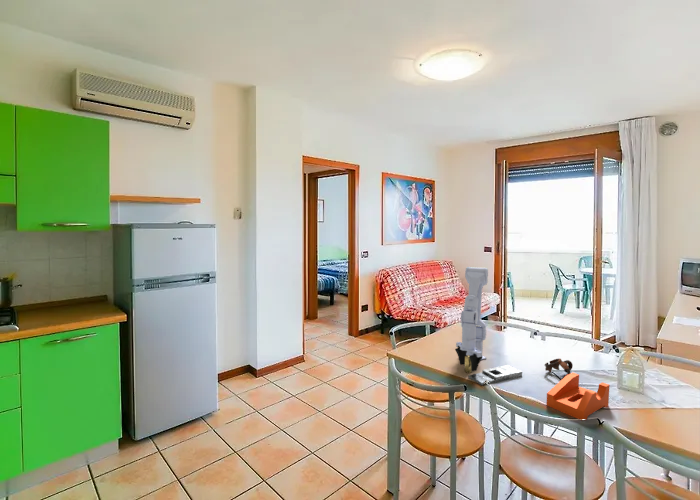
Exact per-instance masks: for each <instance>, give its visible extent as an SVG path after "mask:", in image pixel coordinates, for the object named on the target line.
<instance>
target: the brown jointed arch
mask: <svg viewBox="0 0 700 500" xmlns="http://www.w3.org/2000/svg"><path fill="white" fill-rule="evenodd" d="M544 367H545V368H544V369H545V371H548V372H550V373H552V370H553V369H554V370H556V371H560V367H561V368H562V369H563V371H564V372H565V373H566V374H565V375H563V376H564V377H565V376H567V375H569V374H571V373H572V372H571V371H572V369H573V362H572V361H571V360H569V359H566V360H564V361H563V360H562V358H555V359H553V360H550V361H549V362H545V364H544ZM564 377H563V378H564Z"/></svg>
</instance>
